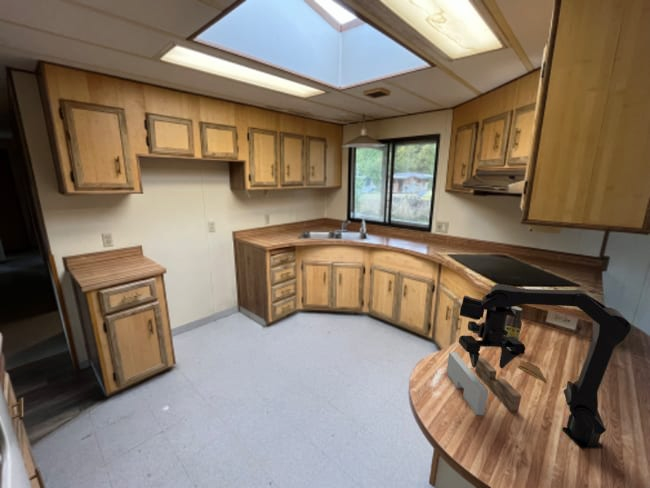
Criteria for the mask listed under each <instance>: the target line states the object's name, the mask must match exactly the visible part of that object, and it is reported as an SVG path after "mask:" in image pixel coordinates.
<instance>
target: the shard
mask: <svg viewBox="0 0 650 488" xmlns="http://www.w3.org/2000/svg"><path fill="white" fill-rule="evenodd" d="M517 362H518V365H517V368H518V369H520V370H523V371H524V372H526V373H528V374H529V375H531V376H533V377H535V378H536V379H538V380H540V381H542V382H544V383H546V382H547V379H546V378H545V376H544V374H543V372H542V370H541V369H540V367H539V366H538V364H536V363H534V362H531V361H528V360H522V359H518V360H517Z"/></svg>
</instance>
